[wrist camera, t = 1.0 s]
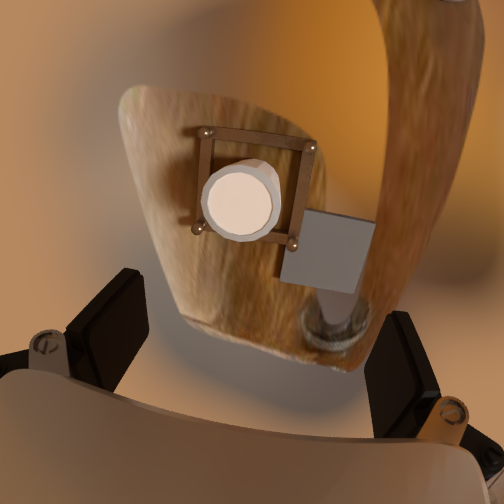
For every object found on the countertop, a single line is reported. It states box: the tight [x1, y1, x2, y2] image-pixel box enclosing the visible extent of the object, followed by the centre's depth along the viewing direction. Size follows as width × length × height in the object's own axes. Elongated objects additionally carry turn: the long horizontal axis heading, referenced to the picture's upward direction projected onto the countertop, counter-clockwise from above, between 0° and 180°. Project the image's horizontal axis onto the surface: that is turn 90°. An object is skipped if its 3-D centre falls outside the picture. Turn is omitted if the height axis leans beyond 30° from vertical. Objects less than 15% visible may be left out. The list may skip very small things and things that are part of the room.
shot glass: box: [201, 159, 281, 242], centre depth 28 cm, size 7×7×7 cm
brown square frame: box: [191, 126, 317, 252], centre depth 30 cm, size 11×11×2 cm
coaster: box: [279, 208, 376, 294], centre depth 33 cm, size 9×9×1 cm
